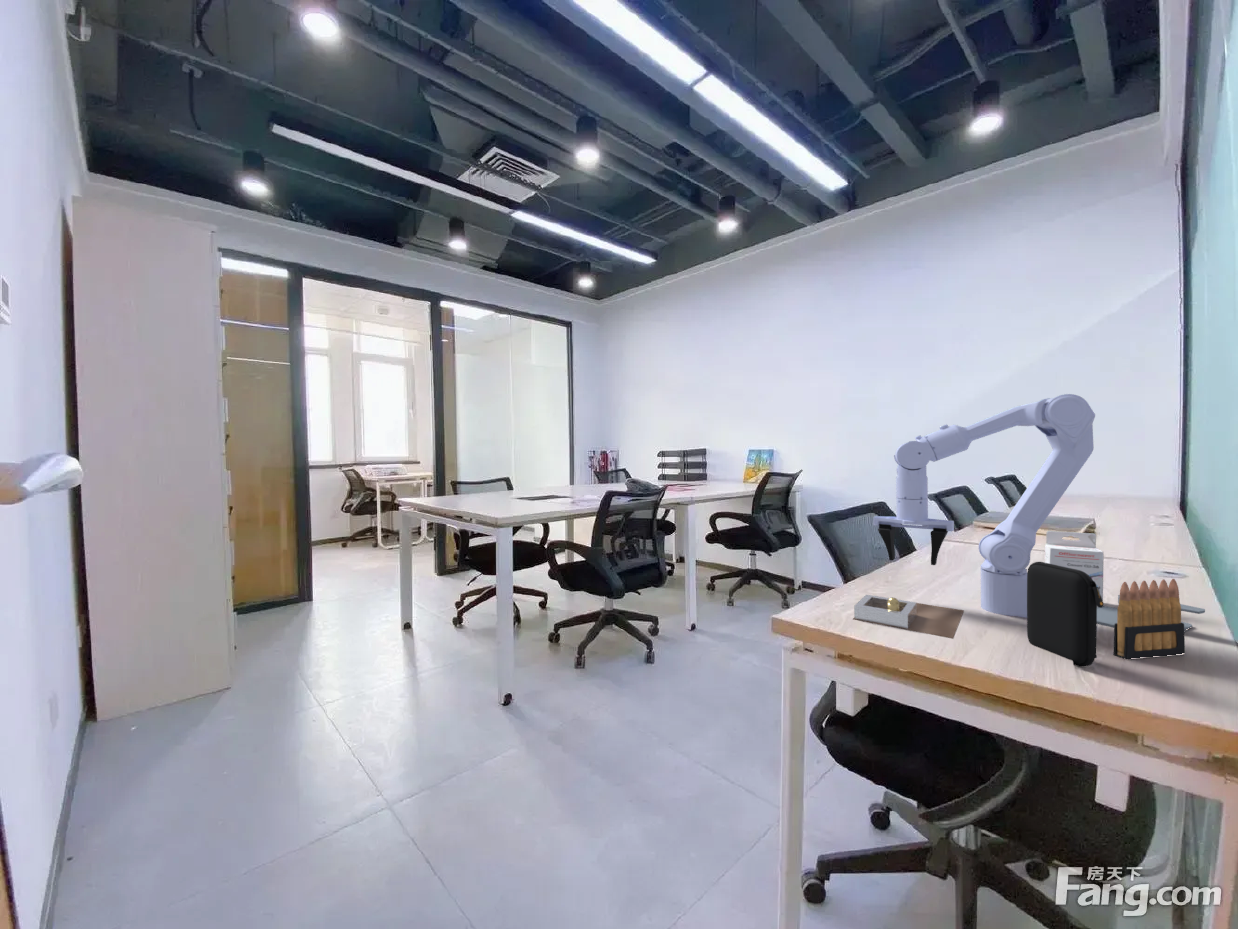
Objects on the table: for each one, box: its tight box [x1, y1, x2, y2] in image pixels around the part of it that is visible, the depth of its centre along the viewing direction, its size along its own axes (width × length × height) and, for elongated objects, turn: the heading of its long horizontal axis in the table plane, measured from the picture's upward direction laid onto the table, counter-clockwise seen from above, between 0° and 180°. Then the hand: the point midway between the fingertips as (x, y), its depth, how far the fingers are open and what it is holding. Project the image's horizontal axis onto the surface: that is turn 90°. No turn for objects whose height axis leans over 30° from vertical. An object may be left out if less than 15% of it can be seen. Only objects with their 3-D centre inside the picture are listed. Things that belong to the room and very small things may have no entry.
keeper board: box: [852, 602, 965, 639], centre depth 95 cm, size 16×18×1 cm
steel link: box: [853, 594, 918, 629], centre depth 94 cm, size 9×9×2 cm
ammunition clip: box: [1113, 578, 1186, 660], centre depth 77 cm, size 11×2×12 cm, turn 96°
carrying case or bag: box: [1026, 561, 1105, 668], centre depth 76 cm, size 11×3×15 cm, turn 9°
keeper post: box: [887, 597, 899, 611], centre depth 93 cm, size 2×2×4 cm
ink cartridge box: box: [1044, 530, 1105, 607], centre depth 103 cm, size 9×5×15 cm, turn 58°
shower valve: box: [1097, 594, 1206, 632], centre depth 89 cm, size 12×6×15 cm
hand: (912, 561), depth 103 cm, fingers open, 7 cm apart
